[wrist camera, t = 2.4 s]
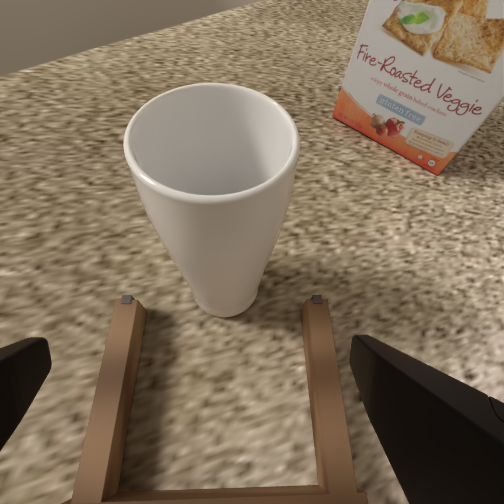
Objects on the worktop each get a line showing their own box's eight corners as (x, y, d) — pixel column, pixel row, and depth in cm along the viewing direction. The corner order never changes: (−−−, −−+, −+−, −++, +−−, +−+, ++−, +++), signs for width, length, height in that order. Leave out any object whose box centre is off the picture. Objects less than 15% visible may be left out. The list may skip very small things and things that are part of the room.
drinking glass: (274, 261, 25) (314, 96, 12) (256, 338, 22) (285, 223, 9) (199, 244, 26) (162, 68, 13) (170, 316, 23) (82, 177, 10)
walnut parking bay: (355, 516, 17) (373, 530, 15) (75, 527, 16) (50, 544, 14) (324, 307, 24) (333, 295, 21) (121, 307, 23) (108, 295, 21)
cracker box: (328, 120, 35) (426, -194, 17) (354, 98, 38) (464, -197, 20) (437, 180, 31) (715, -150, 13) (458, 152, 34) (718, -160, 16)
